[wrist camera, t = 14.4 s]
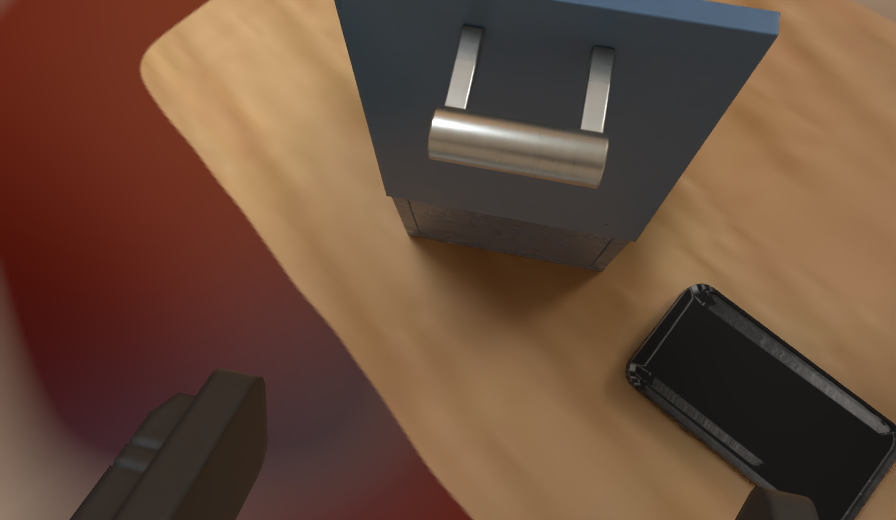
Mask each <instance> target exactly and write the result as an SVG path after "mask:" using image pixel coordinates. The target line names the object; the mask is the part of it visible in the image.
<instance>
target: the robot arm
mask: <svg viewBox="0 0 896 520" xmlns="http://www.w3.org/2000/svg"><path fill="white" fill-rule="evenodd" d="M267 438H268V437H267V415H266V393H265V382H264V379H263V378H262V377H258V376H254V375H250V374H245V373H240V372H235V371H231V370H226V369H221V368H218V369H216V370H215V371H214V372H213V373H212V374H211V375H210V376H209V378H208V379H207V381H206V382H205V384H204V385H203V387H202V388H201V389H200V391H199V392H198V394H197V395H196V396H193V395H188V394H183V393H177V394H176V395H174V396H173V397H171V398H170V399H169V400H167V401H166V402H164V403H163V404H161V405H160V406H158V407H157V408H156V409H154V410H153V411H151V412H150V413H149V414H148V416H147V417H146V419H145V420H144V421H143V422H142V424H141V425H140V426H139V428H138V429H137V430H136V432H135V433H134V435H133V436H132V437H131V438H130V442H129V444H126V445H125V446H124V448H123V449H122V450H121V452H120V453H119V454H118V456H117V457H116V458H115V460H114V464H113V466H110V467H109V468H108V469H107V470H106V472H105V473H104V474H103V476H102V477H101V478H100V480H99V481H98V482H97V484H96V485H95V487H94V488H93V489H92V491H91V492H90V493H89V494H88V496H87V497H86V498H85V500H84V501H83V502H82V504H81V505H80V506H79V508H78V509H77V510H76V512H75V513H74V515H73V516H72V517H71V519H70V520H236V518H237V516H238V514H239V512H240V510H241V508H242V506H243V504H244V502H245V500H246V498H247V496H248V494H249V492H250V490H251V488H252V487H253V485H254V483H255V481H256V479H257V476H258V475H259V472H260V470H261V467H262V464H263V461H264V458H265V454H266V449H267V440H268V439H267ZM735 520H819V517H818V514H817V511H816V508H815V506H814V504H813V502H812V501H811V500H810V499H809V498H808V497H805V496H800V495H796V494H791V493H787V492H782V491H777V490H773V489H768V488H764V487H759V486H758V487H755V488H753V490H752V491H751V492H750V494H749V495H748V497H747V499H746V501H745V503H744V504H743V506H742V508H741V510H740V512H739V513H738V515H737V517H736V519H735Z"/></svg>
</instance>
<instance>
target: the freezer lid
mask: <svg viewBox="0 0 896 520" xmlns="http://www.w3.org/2000/svg"><path fill="white" fill-rule="evenodd" d="M334 1H335V5H336V9H337V13H338V16H339V20H340V24H341V27H342V31H343V35H344V39H345V42H346V46H347V50H348V54H349V57H350V61H351V65H352V68H353V72H354V76H355V80H356V83H357V87H358V91H359V95H360V98H361V102H362V106H363V109H364V113H365V117H366V121H367V124H368V128H369V132H370V136H371V139H372V143H373V147H374V150H375V154H376V158H377V162H378V165H379V169H380V173H381V177H382V180H383V184H384V188H385V191H386V195H387V196H390V197H396V198H401V199H406V200H412V201H417V202H423V203H428V204H433V205H439V206H444V207H450V208H455V209H460V210H466V211H471V212H477V213H482V214H487V215H493V216H498V217H504V218H509V219H514V220H520V221H525V222H531V223H536V224H541V225H547V226H552V227H558V228H563V229H568V230H574V231H579V232H585V233H590V234H596V235H601V236H606V237H612V238H617V239H623V240H628V241H633V242H635V241H636V240H637V238H638V237H639V235H640V234H641V233H642V231H643V230H644V228H645V227H646V225H647V224H648V222H649V221H650V220H651V218H652V217H653V215H654V214H655V212H656V211H657V210H658V208H659V207H660V205H661V204H662V202H663V201H664V199H665V198H666V197H667V195H668V194H669V192H670V191H671V189H672V188H673V186H674V185H675V184H676V182H677V181H678V179H679V178H680V176H681V175H682V173H683V172H684V171H685V169H686V168H687V166H688V165H689V163H690V162H691V160H692V159H693V158H694V156H695V155H696V153H697V152H698V150H699V149H700V147H701V146H702V145H703V143H704V142H705V140H706V139H707V137H708V136H709V135H710V133H711V132H712V130H713V129H714V127H715V126H716V124H717V123H718V122H719V120H720V119H721V117H722V116H723V114H724V113H725V111H726V110H727V109H728V107H729V106H730V104H731V103H732V101H733V100H734V98H735V97H736V96H737V94H738V93H739V91H740V90H741V88H742V87H743V85H744V84H745V83H746V81H747V80H748V78H749V77H750V75H751V74H752V72H753V71H754V70H755V68H756V67H757V65H758V64H759V62H760V61H761V60H762V58H763V57H764V55H765V54H766V52H767V51H768V49H769V48H770V47H771V45H772V44H773V42H774V41H775V39H776V38H777V36H778V33H779V19H780V13H779V12H776V11H769V10H763V9H756V8H750V7H743V6H737V5H730V4H724V3H717V2H711V1H704V0H334Z"/></svg>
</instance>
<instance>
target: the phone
mask: <svg viewBox="0 0 896 520" xmlns="http://www.w3.org/2000/svg"><path fill="white" fill-rule="evenodd" d="M626 377H627V379H628V381H629V383H630V384H631V385H632V386H633V387H634V388H635V389H636V390H638V391H639V392H640V393H641V394H643V395H644V396H645V397H646V398H647V399H649V400H650V401H651V402H652V403H654V404H655V405H656V406H658V407H659V408H660V409H661V410H662V411H663V412H665V413H666V414H667V415H668V416H670V417H671V418H672V419H673V420H675V421H676V422H678V424H679V425H680V426H682V427H683V428H684V429H685V430H687V431H688V432H689V433H691V434H693V435H694V436H695V437H696V438H698V439H699V440H700V441H701V442H703V443H704V444H705V445H706V446H708V447H709V448H710V449H711V450H713V451H714V452H715V453H716V454H718V455H719V456H720V457H721V458H723V459H724V460H725V461H726V462H728V463H729V464H730V465H731V466H733V467H734V468H735V469H736V470H738V471H739V472H740V473H741V474H743V475H744V476H745V477H746V478H748V479H749V480H750V481H751V482H753V483H754V484H755V485H756V486H759V487H764V488H768V489H773V490H777V491H782V492H787V493H791V494H796V495H800V496H805V497H808V498H809V499H810V500H811V501H812V502H813V504H814V506H815V508H816V511H817V514H818V517H819V520H854V519H855V517H856V516H857V514H858V513H859V511H860V510H861V508H862V507H863V506H864V504H865V503H866V501H867V500H868V498H869V497H870V496H871V494H872V493H873V491H874V490H875V488H876V487H877V485H878V484H879V483H880V481H881V480H882V478H883V477H884V475H885V474H886V473H887V471H888V470H889V468H890V467H891V465H892V464H893V462H894V461H895V460H896V425H895V424H894V423H893V422H891V421H890V420H889V419H887V418H886V417H885V416H883V415H882V414H881V413H879V412H878V411H877V410H875V409H874V408H873V407H871V406H870V405H869V404H867V403H866V402H865V401H863V400H862V399H861V398H859V397H858V396H857V395H855V394H854V393H853V392H851V391H850V390H849V389H847V388H846V387H845V386H843V385H842V384H841V383H839V382H838V381H837V380H835V379H834V378H833V377H831V376H830V375H829V374H827V373H826V372H825V371H823V370H822V369H821V368H819V367H818V366H817V365H815V364H814V363H813V362H811V361H810V360H809V359H807V358H806V357H805V356H803V355H802V354H801V353H799V352H798V351H797V350H795V349H794V348H793V347H791V346H790V345H789V344H787V343H786V342H785V341H783V340H782V339H781V338H779V337H778V336H777V335H776V334H774V333H773V332H772V331H770V330H769V329H768V328H766V327H765V326H764V325H762V324H761V323H760V322H758V321H757V320H756V319H754V318H753V317H752V316H750V315H749V314H748V313H746V312H745V311H744V310H742V309H741V308H740V307H738V306H737V305H736V304H734V303H733V302H732V301H730V300H729V299H728V298H726V297H725V296H724V295H722V294H721V293H720V292H718V291H717V290H716V289H714V288H713V287H711V286H709V285H706V284H695V285H693V286H691V287H689V288H687V289H686V290H685V291H683V292H682V293H681V295H680V296H679V297H678V298H677V300H676V301H675V302H674V304H673V305H672V306H671V307H670V309H669V310H668V311H667V313H666V314H665V315H664V316H663V318H662V319H661V320H660V322H659V323H658V324H657V325H656V327H655V328H654V329H653V331H652V332H651V333H650V334H649V336H648V337H647V338H646V340H645V341H644V342H643V343H642V345H641V346H640V347H639V349H638V350H637V351H636V352H635V354H634V355H633V356H632V358H631V359H630V360H629V362H628V364H627V366H626Z"/></svg>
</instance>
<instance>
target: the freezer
mask: <svg viewBox="0 0 896 520" xmlns="http://www.w3.org/2000/svg"><path fill="white" fill-rule="evenodd" d="M392 198H393V201H394V203H395V205H396V208H397V210H398V212H399V215H400V217H401V220H402V222H403V224H404V227H405V229H406V231H407V234H408V235H410V236H416V237H421V238H426V239H431V240H437V241H442V242H447V243H453V244H458V245H463V246H468V247H474V248H479V249H484V250H489V251H495V252H500V253H505V254H511V255H516V256H521V257H526V258H532V259H537V260H542V261H547V262H553V263H558V264H563V265H569V266H574V267H579V268H584V269H590V270H595V271H600V272H602V271H603V270H604V269H605V268H606V267H607V266H608V264H609V263H610V262H611V261H612V260H613V259H614V258H615V257H616V256H617V255H618V253H619V252H620V251H621V250H622V249H623V248H624V247H625V246H626V245H627V244H628V242H629V241H628V240H623V239H617V238H612V237H606V236H601V235H596V234H590V233H585V232H579V231H574V230H568V229H563V228H558V227H552V226H547V225H541V224H536V223H531V222H525V221H520V220H514V219H509V218H504V217H498V216H493V215H487V214H482V213H477V212H471V211H466V210H460V209H455V208H450V207H444V206H439V205H433V204H428V203H423V202H417V201H412V200H406V199H401V198H396V197H392Z"/></svg>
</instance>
